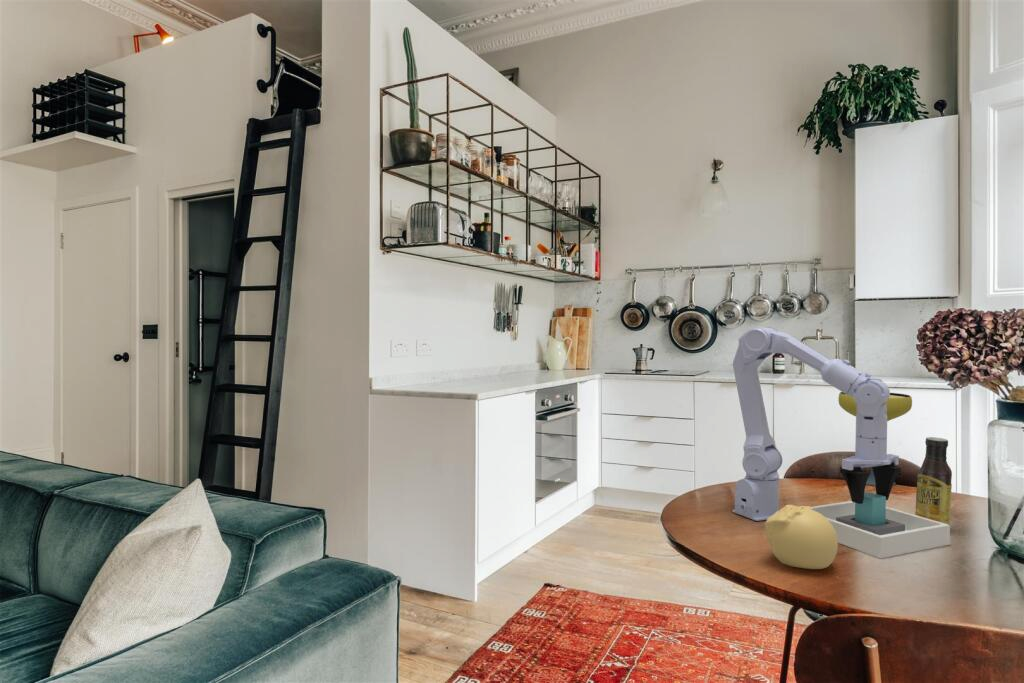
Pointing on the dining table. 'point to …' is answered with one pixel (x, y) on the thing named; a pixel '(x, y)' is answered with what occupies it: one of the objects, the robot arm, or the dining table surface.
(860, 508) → the block
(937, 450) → the sauce bottle
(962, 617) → the dining table surface
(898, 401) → the cocktail glass
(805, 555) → the sculpture
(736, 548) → the dining table surface
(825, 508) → the box
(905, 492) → the dining table surface
